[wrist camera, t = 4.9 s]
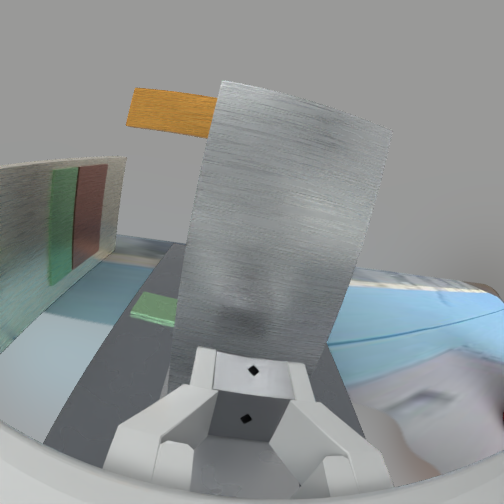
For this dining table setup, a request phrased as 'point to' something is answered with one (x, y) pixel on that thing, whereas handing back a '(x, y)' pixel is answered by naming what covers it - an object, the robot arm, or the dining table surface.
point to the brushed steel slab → (267, 219)
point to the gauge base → (120, 323)
